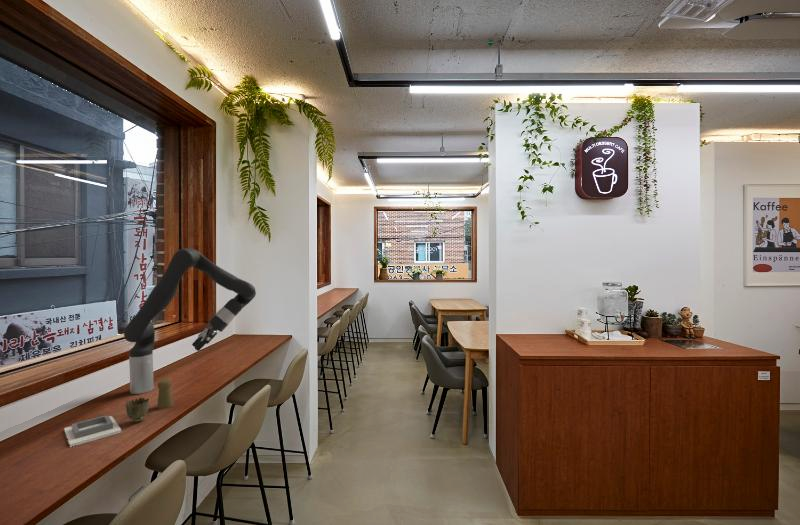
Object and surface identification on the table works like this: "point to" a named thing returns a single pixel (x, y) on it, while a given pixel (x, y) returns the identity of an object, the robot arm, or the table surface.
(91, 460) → the table surface
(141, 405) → the cup
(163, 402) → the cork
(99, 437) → the socket board
